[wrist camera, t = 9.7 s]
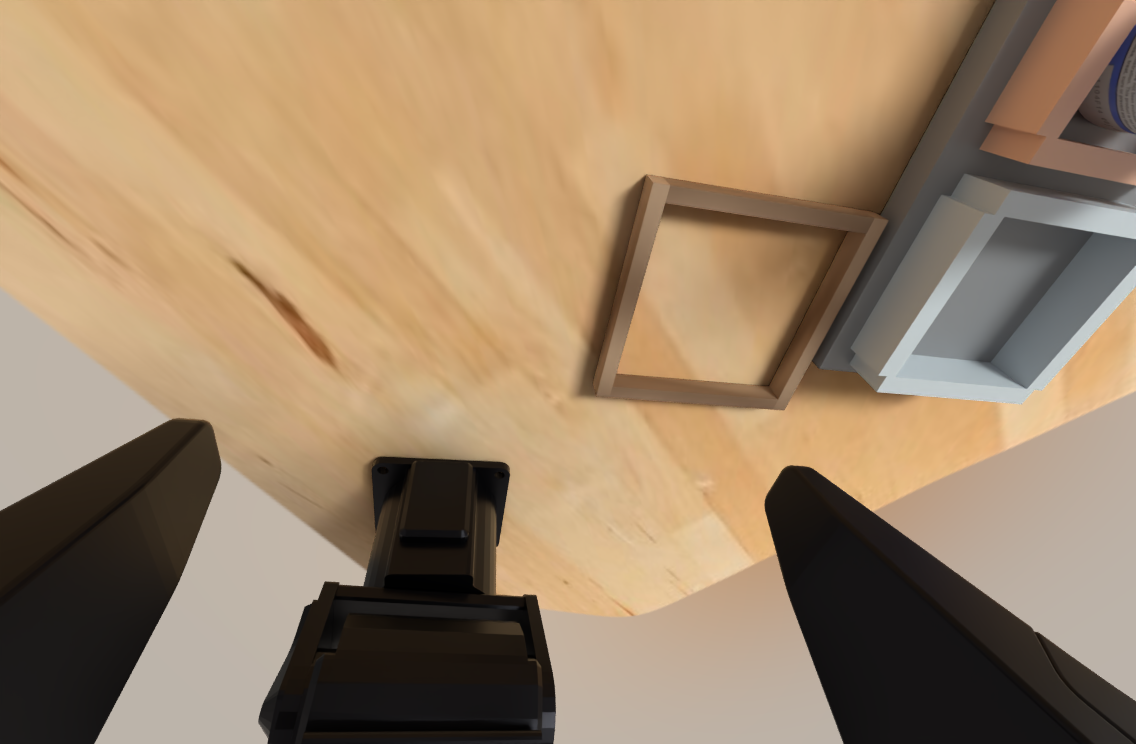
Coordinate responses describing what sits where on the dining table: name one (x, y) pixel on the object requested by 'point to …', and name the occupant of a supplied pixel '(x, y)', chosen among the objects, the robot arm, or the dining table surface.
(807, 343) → the tray
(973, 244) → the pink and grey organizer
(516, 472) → the dining table surface
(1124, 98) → the pill bottle
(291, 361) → the dining table surface
